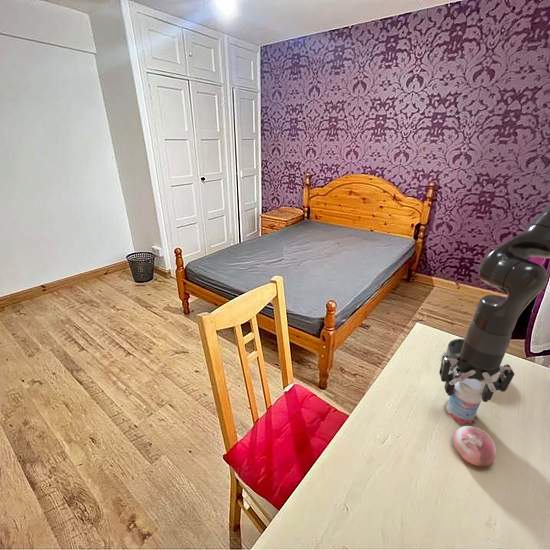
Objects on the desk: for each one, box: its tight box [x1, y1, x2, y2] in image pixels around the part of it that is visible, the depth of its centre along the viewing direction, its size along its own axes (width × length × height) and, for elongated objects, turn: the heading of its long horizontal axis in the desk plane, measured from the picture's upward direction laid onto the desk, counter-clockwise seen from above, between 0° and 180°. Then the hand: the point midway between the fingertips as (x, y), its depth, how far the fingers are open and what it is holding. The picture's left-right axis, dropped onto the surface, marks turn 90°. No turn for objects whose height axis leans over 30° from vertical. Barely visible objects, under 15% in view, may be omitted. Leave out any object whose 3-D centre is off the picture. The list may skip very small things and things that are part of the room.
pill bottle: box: [445, 378, 484, 424], centre depth 74 cm, size 6×6×11 cm
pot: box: [444, 338, 465, 374], centre depth 90 cm, size 11×11×6 cm
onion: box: [452, 425, 497, 467], centre depth 66 cm, size 8×8×7 cm
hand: (465, 395), depth 73 cm, fingers open, 7 cm apart
